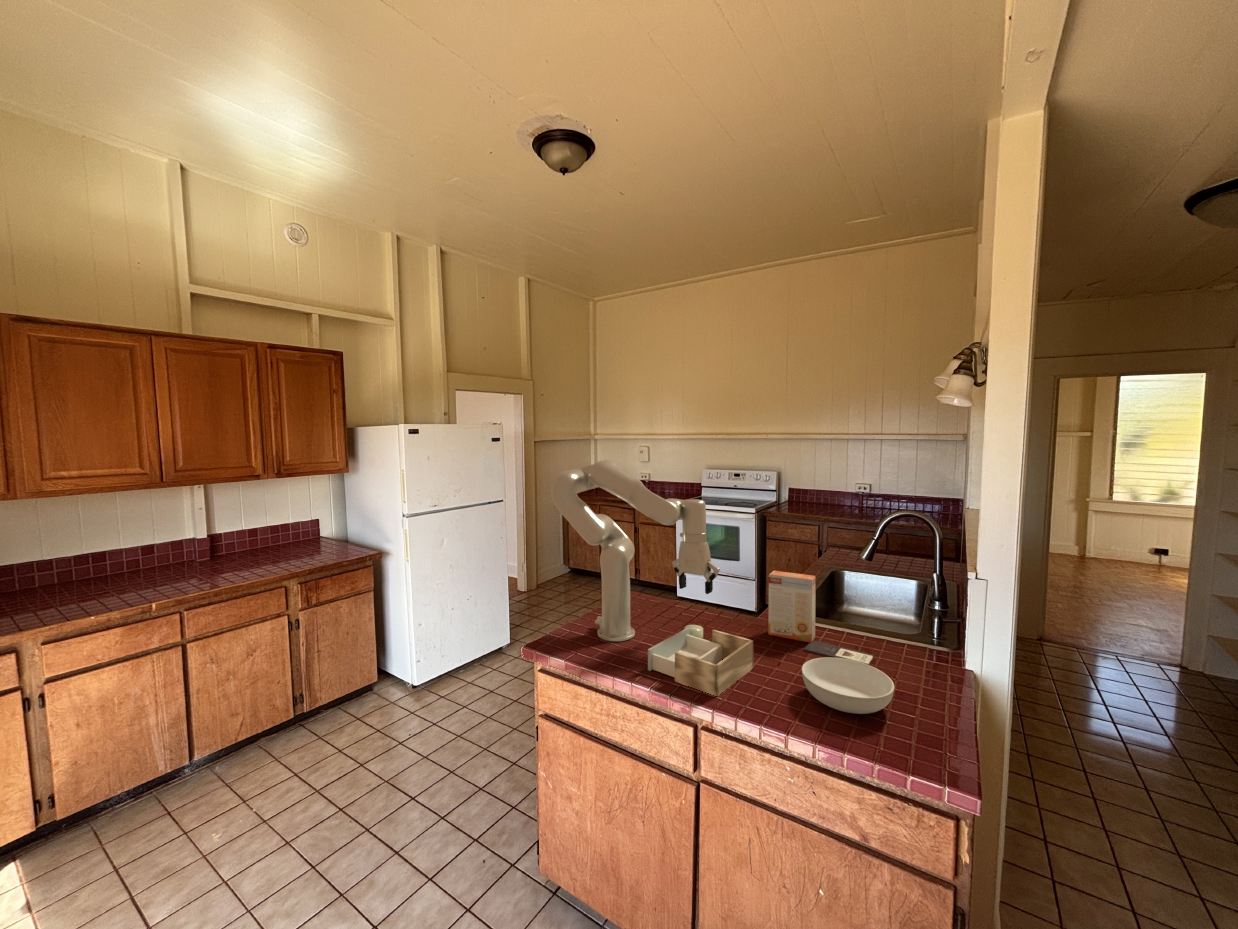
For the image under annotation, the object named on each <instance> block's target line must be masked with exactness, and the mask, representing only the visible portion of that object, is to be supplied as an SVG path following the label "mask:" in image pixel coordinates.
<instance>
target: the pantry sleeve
mask: <svg viewBox="0 0 1238 929" xmlns="http://www.w3.org/2000/svg"><path fill="white" fill-rule="evenodd" d="M711 634H712V635H711V642H715V643H718V644H722V645H723V648H722V659H723V660H720V661H719V662H717V663H716V664H713V663H710V662H707V661H704V660H701V659H698V658H695V657H692V656H689V655H685V654H682V653H679V652H675V677H674V682H675V683H678V684H681V685H683V686H686V687H688V686H689V687H688V688H691V687H692V688H691V689H694V688H695V689H694V690H696V689H697V690H696V691H699V690H700V691H699V692H702V691H703V693H705V692H706V693H705V694H707V693H709V694H708V695H710V694H711V695H710V696H713V695H714V696H713V697H715V696H718V697H719V696H721V695H722V694H723V693H724V692H726V691H727V690H728V689H729V688H730V687H732V686H733V685H734V684H735V683H736V681H737V680H738V681H739V680H740V679H742V678H743V677H744V676H745V675H746V674H748V673H750V671H751V670H752V669H754V640H752V639H749V638H746V637H743V636H738V635H734V634H731V633H727V632H724V631H719V630H717V629H712V630H711ZM738 681H737V682H738ZM731 685H732V686H731ZM727 688H728V689H727ZM726 689H727V690H726ZM722 692H723V693H722ZM721 693H722V694H721ZM720 694H721V695H720Z"/></svg>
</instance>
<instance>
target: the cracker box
mask: <svg viewBox="0 0 1238 929" xmlns="http://www.w3.org/2000/svg"><path fill="white" fill-rule="evenodd" d="M767 620H768V628H767V629H768V635H770V636H775V637H779V638H785V639H790V640H794V641H799V642H805V643H808V644H809V643H810V642H812V641H813V640H815V638H816V575H812V574H811V575H810V574H802V573H796V572H788V571H787V572H786V571H780V570H772V571H771V572H770V573H768V619H767Z"/></svg>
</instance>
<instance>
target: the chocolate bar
mask: <svg viewBox="0 0 1238 929" xmlns="http://www.w3.org/2000/svg"><path fill="white" fill-rule="evenodd" d="M806 651H807V653H810V654H815V655H819V656H822V657H823V656H824V657H832V658H843V659H849V660H853V661H857V662H861V663H864V664H867V665H869V664H870V663H871V661H872V660H873V658H874V657H875V654H874V653H869V652H865V651H860V650H857V649H852V648H848V647H845V646H840V645H836V644H832V643H827V642H823V641H820V640H815V639H814V640H813V641H812V642H810V643H809V642H808V644H807V645H806V646H805V647H804V648H803V652H806ZM869 666H870V665H869Z"/></svg>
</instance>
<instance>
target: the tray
mask: <svg viewBox="0 0 1238 929" xmlns="http://www.w3.org/2000/svg"><path fill="white" fill-rule="evenodd" d="M722 648H723V645H722V644H718V643H715V642H712V640H711V641H710V640H707V639H704V638H703V639H701V638H698V637H694V636H691V635H690V628H686V629H685V628H683V630H680V631H679V632H677V633H675V634H674V635H671V636H669V637H668V638H666V639H664V640H663V641H661V642H658V643H657V644H655V645H653V646H651V647H650V648H648V649H647V671H648V672H651V671H652V670H653V671H656V672H658V673H661V674H664V675H667V676H670V677H673V678H675V652H679V653H682V654H685V655H689V656H692V657H695V658H698V659H701V660H704V661H707V662H710V663H713V664H717V663H719V662H720V661H722Z"/></svg>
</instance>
